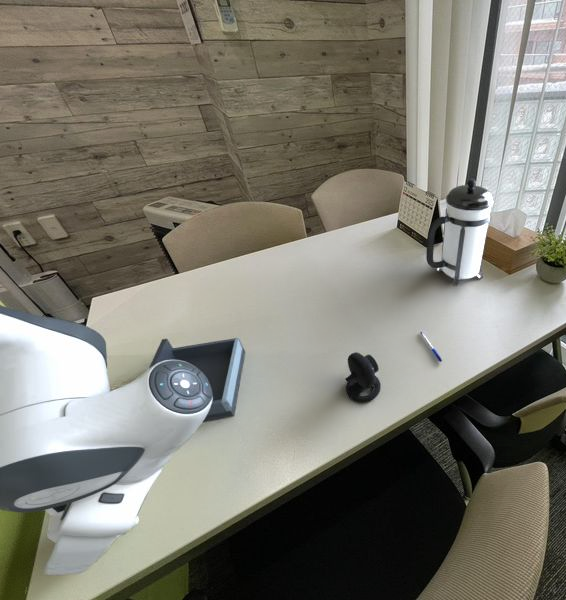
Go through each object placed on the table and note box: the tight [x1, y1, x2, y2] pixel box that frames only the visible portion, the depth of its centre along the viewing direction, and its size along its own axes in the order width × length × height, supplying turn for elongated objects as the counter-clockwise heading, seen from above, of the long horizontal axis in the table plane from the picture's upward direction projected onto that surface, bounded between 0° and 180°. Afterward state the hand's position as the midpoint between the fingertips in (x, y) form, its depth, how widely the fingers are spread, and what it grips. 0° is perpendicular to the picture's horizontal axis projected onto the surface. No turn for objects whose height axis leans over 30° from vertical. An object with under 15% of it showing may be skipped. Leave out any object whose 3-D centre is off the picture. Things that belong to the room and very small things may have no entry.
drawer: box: [148, 337, 246, 424], centre depth 67 cm, size 15×18×8 cm
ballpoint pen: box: [419, 331, 443, 363], centre depth 79 cm, size 10×1×1 cm, turn 25°
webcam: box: [345, 351, 382, 404], centre depth 66 cm, size 8×8×10 cm
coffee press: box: [425, 178, 494, 287], centre depth 94 cm, size 17×16×30 cm
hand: (89, 499), depth 46 cm, fingers open, 8 cm apart
